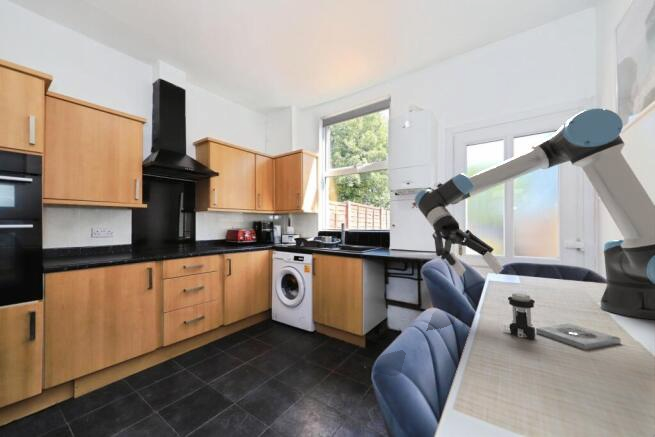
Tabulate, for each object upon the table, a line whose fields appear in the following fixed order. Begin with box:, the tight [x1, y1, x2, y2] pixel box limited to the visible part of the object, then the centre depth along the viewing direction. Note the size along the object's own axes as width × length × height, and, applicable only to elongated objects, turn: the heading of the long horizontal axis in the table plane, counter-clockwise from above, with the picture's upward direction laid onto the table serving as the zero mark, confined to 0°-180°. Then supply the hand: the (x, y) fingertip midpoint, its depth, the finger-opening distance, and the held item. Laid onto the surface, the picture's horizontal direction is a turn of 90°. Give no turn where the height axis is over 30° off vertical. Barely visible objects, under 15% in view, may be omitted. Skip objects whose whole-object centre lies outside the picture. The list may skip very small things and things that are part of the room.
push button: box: [503, 293, 536, 341], centre depth 64 cm, size 7×5×10 cm
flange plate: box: [535, 323, 622, 351], centre depth 62 cm, size 12×10×1 cm
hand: (481, 272), depth 73 cm, fingers open, 13 cm apart
